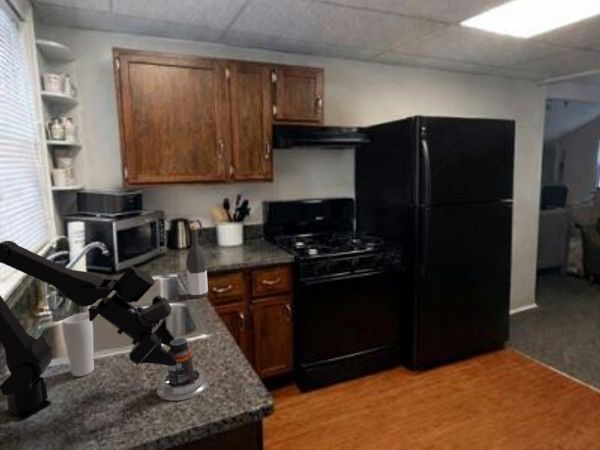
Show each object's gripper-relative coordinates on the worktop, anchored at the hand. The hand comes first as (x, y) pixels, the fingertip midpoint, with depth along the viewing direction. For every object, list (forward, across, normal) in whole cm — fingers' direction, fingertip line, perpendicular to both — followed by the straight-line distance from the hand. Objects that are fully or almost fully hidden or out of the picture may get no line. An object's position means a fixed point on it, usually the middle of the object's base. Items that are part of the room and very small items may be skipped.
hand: (177, 355), depth 94 cm
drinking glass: (-12, +15, +24) cm, 31 cm away
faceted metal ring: (+6, 0, +5) cm, 8 cm away
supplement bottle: (+6, 0, +5) cm, 8 cm away
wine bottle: (+8, +72, +4) cm, 73 cm away
